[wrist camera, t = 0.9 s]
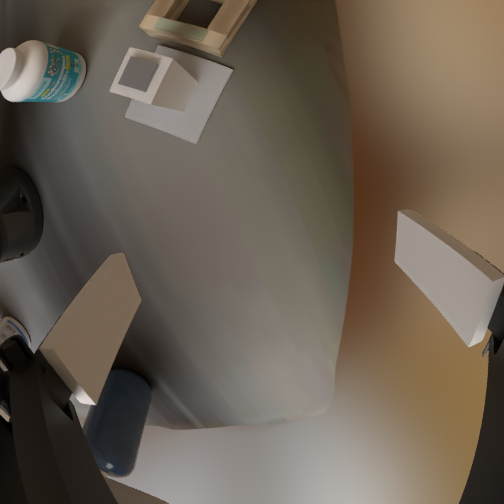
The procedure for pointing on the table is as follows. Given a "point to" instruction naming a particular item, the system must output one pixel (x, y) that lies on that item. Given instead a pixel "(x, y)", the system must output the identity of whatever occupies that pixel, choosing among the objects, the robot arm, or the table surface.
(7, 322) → the supplement tub
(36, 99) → the pill bottle
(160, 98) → the plug
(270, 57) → the table surface
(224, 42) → the socket block
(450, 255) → the robot arm
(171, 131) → the mat
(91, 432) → the lamp
